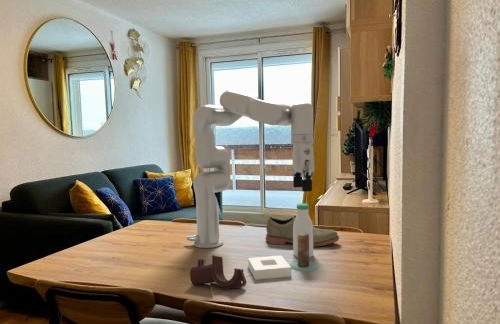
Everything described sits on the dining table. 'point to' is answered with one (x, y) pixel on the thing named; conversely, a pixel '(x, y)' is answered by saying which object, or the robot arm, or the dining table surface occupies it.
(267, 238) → the oxford shoe
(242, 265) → the dining table surface
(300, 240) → the walnut dowel
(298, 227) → the milk bottle
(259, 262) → the pocket block
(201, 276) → the bracket
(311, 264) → the felt pad
